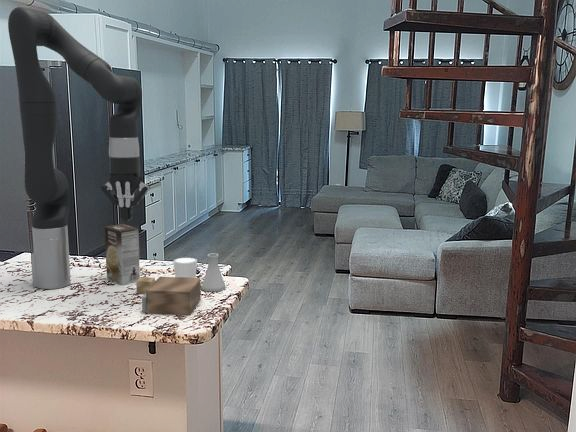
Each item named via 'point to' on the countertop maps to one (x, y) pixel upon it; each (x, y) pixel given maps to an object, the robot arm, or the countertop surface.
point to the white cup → (185, 267)
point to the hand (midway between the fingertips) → (126, 220)
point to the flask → (213, 275)
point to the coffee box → (122, 253)
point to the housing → (173, 296)
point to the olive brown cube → (144, 284)
